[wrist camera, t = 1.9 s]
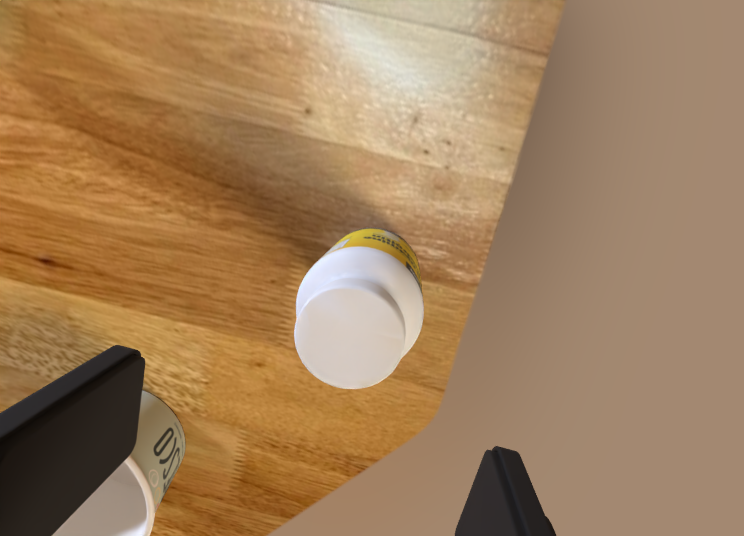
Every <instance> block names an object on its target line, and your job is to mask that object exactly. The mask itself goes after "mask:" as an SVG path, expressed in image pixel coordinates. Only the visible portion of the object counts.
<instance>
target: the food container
mask: <svg viewBox="0 0 744 536" xmlns="http://www.w3.org/2000/svg"><path fill="white" fill-rule="evenodd" d="M184 453H185V436H184V432H183V429H182V426H181V424H180V422H179V420H178V419H177V417H176V415H175V414H174V413H173V412H172V410H171V409H170V408H169V407H168V406H167V405H166V404H165V403H164V402H162V401H161V400H160V399H158V398H157V397H155V396H154V395H152V394H150V393H148V392H146V391H143V390H142V396H141V405H140V414H139V423H138V432H137V440H136V444H135V447H134V449H133V451H132V453H131V454H130V455H129V457H128V458H127V459H126V460H125V461H124V462H123V463H122V464H121V465H120V466H119V467H118V468H117V469H116V470H115V471H114V472H113V473H112V474H111V475H110V476H109V477H108V478H107V479H106V480H105V481H104V482H103V483H102V485H101V486H100V487H99V488H98V489H97V490H96V491H95V492H94V493H93V494H92V495H91V496H90V497H89V498H88V499H87V500H86V501H85V502H84V503H83V504H82V505H81V506H80V507H79V508H78V509H77V510H76V511H75V512H74V513H73V514H72V515H71V516H70V517H69V518H68V520H67V521H66V522H65V523H64V524H63V525H62V526H61V527H60V528H59V529H58V530H57V531H56V532H55V533H54V534H53V535H52V536H150V533H151V530H152V527H153V523H154V516H155V512H156V510H157V508H158V506H159V504H160V503H161V501H162V499H163V497H164V495H165V493H166V491H167V489H168V487H169V485H170V483H171V481H172V479H173V477H174V475H175V474H176V472H177V470H178V468H179V466H180V464H181V462H182V460H183V457H184Z"/></svg>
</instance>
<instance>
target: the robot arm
mask: <svg viewBox="0 0 744 536" xmlns="http://www.w3.org/2000/svg"><path fill="white" fill-rule="evenodd" d="M144 369H145V359H144V358H143V357H141V354H140V352H139V351H138V350H135V349H131V348H128V347H124V346H120V345H115V346H112V347H111V348H109V349H107V350H106V351H104V352H102V353H101V354H99V355H97V356H96V357H94V358H92V359H91V360H89V361H87V362H85V363H84V364H82V365H80V366H79V367H77V368H75V369H74V370H72V371H70V372H69V373H67V374H65V375H64V376H62V377H60V378H59V379H57V380H55V381H53V382H52V383H50V384H48V385H47V386H45V387H43V388H42V389H40V390H38V391H37V392H35V393H33V394H32V395H30V396H28V397H27V398H25V399H23V400H21V401H20V402H18V403H16V404H15V405H13V406H11V407H10V408H8V409H6V410H5V411H3V412H1V413H0V536H52V535H53V534H54V533H55V532H56V531H57V530H58V529H59V528H60V527H61V526H62V525H63V524H64V523H65V522H66V521H67V520H68V518H69V517H70V516H71V515H72V514H73V513H74V512H75V511H76V510H77V509H78V508H79V507H80V506H81V505H82V504H83V503H84V502H85V501H86V500H87V499H88V498H89V497H90V496H91V495H92V494H93V493H94V492H95V491H96V490H97V489H98V488H99V487H100V486H101V485H102V483H103V482H104V481H105V480H106V479H107V478H108V477H109V476H110V475H111V474H112V473H113V472H114V471H115V470H116V469H117V468H118V467H119V466H120V465H121V464H122V463H123V462H124V461H125V460H126V459H127V458H128V457H129V455H130V454H131V453H132V451H133V449H134V447H135V444H136V440H137V432H138V423H139V414H140V405H141V396H142V387H143V378H144ZM455 536H556V534H555V531H554V529H553V527H552V524H551V523H550V521H549V519H548V518H547V517H546V516H545V514H544V512H543V510H542V507H541V505H540V503H539V500H538V498H537V495H536V493H535V490H534V488H533V486H532V483H531V481H530V478H529V476H528V473H527V471H526V469H525V466H524V464H523V462H522V459H521V457H520V455H519V453H518V452H516V451H513V450H509V449H506V448H502V447H498V446H496V447H494V448H493V449H492V451H491V450H487V451H486V452H485V454H484V456H483V459H482V461H481V464H480V467H479V469H478V472H477V475H476V477H475V480H474V482H473V485H472V488H471V491H470V493H469V496H468V499H467V501H466V504H465V506H464V509H463V512H462V514H461V517H460V520H459V522H458V525H457V528H456V531H455Z"/></svg>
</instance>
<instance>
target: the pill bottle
mask: <svg viewBox="0 0 744 536" xmlns="http://www.w3.org/2000/svg"><path fill="white" fill-rule="evenodd" d="M296 315H297V320H296V324H295V331H294V338H295V345H296V349H297V352H298V355H299V357H300V359H301V360H302V362H303V364H304V365H305V366H306V368H307V369H308V370H309V371H310V372H311V373H312V374H313V375H314V376H315V377H317V378H318V379H320V380H321V381H323V382H325V383H327V384H329V385H332V386H334V387H338V388H344V389H360V388H366V387H369V386H372V385H375V384H377V383H379V382H381V381H382V380H384V379H385V378H386V377H388V376H389V375H390V374H391V373H392V372H393V371H394V369H395V368H396V367H397V365H398V363H399V361H400V359H401V358H402V357H403V356H404V355H405V354H406V353H407V352H408V351H409V350H410V349H411V348H412V346H413V345H414V343H415V342H416V340H417V338H418V336H419V333H420V331H421V328H422V323H423V317H424V304H423V294H422V284H421V277H420V269H419V264H418V260H417V258H416V255H415V253H414V251H413V250H412V248H411V247H410V246H409V245H408V243H407V242H406V241H405V240H403V239H402V238H401V237H400V236H398V235H397V234H395V233H393V232H390V231H388V230H385V229H381V228H363V229H359V230H356V231H354V232H351V233H349V234H348V235H346V236H345V237H343V238H342V239H341V240H340V241H338V242H337V243H336V244H335V245H334V246H333V247H332V248H331V249H330V250H329V251H328V252H327V253H326V254H325V255H324V256H323V257H321V258H320V259H319V260H318V261H317V262H316V263H315V264H314V265H313V266H312V268H311V269H310V270H309V271H308V273H307V274H306V275H305V277H304V279H303V281H302V283H301V285H300V287H299V291H298V294H297V300H296Z"/></svg>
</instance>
